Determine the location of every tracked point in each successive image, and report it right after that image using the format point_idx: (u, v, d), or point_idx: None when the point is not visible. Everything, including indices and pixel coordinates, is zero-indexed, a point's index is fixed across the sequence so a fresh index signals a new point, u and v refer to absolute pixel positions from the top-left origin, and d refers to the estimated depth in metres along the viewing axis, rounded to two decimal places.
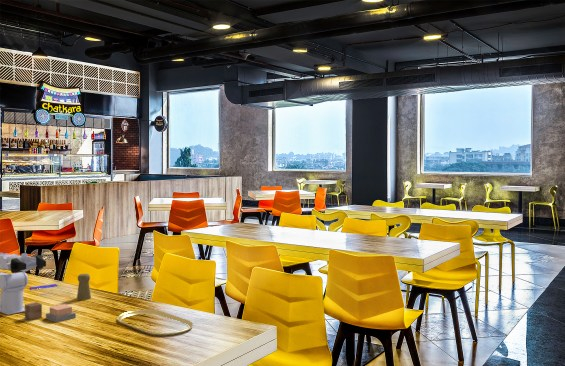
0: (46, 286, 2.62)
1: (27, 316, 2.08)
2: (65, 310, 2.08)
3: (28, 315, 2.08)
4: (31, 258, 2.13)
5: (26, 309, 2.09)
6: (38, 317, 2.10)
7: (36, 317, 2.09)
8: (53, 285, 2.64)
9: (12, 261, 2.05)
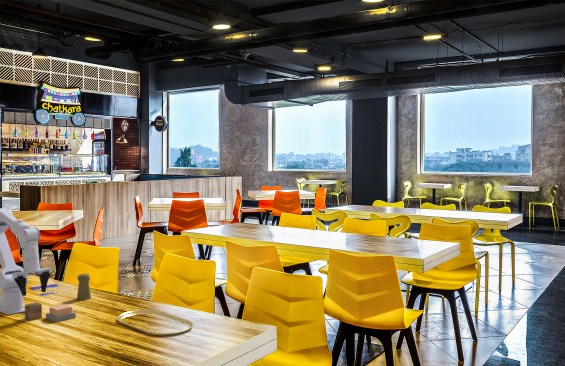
0: None
1: (27, 316, 2.08)
2: (65, 310, 2.08)
3: (28, 315, 2.08)
4: (40, 271, 2.10)
5: (26, 309, 2.09)
6: (38, 317, 2.10)
7: (36, 317, 2.09)
8: (53, 285, 2.64)
9: (19, 280, 2.04)
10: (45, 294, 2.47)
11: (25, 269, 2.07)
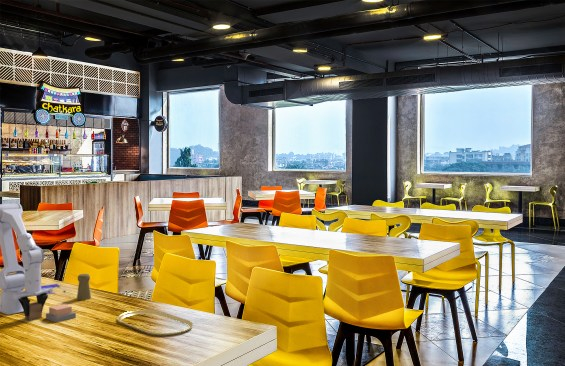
0: (47, 286, 2.62)
1: (27, 316, 2.08)
2: (64, 310, 2.08)
3: None
4: None
5: None
6: (38, 317, 2.09)
7: (36, 317, 2.09)
8: (54, 285, 2.64)
9: (23, 302, 2.05)
10: None
11: (26, 290, 2.07)
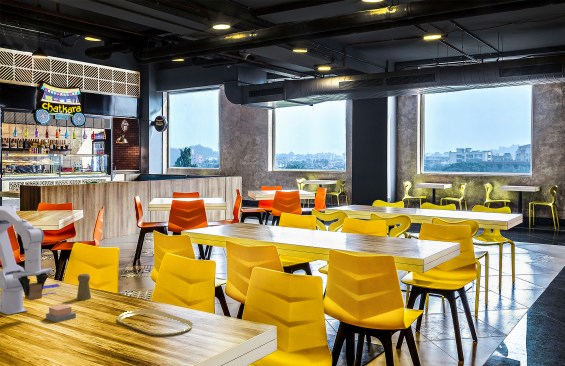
0: (48, 286, 2.62)
1: (28, 296, 2.08)
2: (64, 310, 2.08)
3: None
4: None
5: None
6: (38, 297, 2.09)
7: (36, 297, 2.08)
8: (55, 285, 2.64)
9: (23, 281, 2.05)
10: (46, 294, 2.47)
11: (26, 270, 2.07)
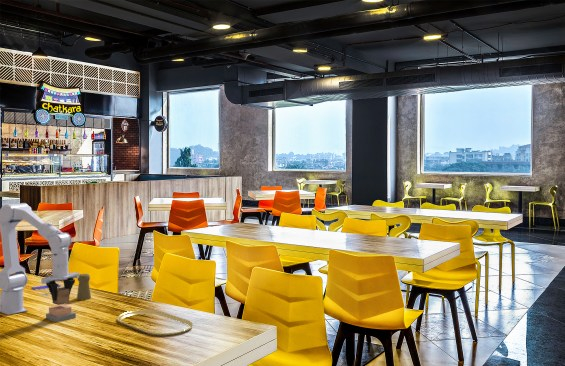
0: None
1: None
2: (64, 310, 2.08)
3: (56, 300, 2.08)
4: None
5: None
6: (66, 302, 2.09)
7: (64, 302, 2.09)
8: None
9: (51, 286, 2.05)
10: None
11: (54, 275, 2.07)
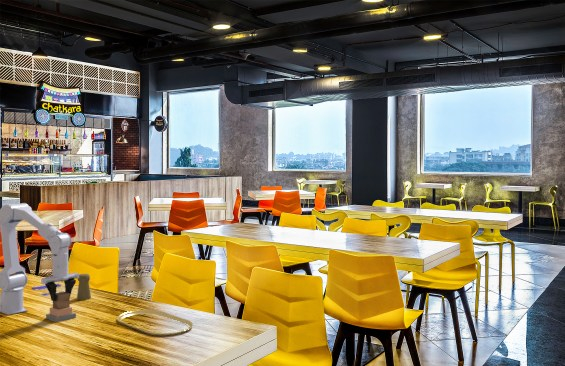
0: None
1: (56, 305, 2.08)
2: (65, 311, 2.08)
3: (56, 304, 2.08)
4: None
5: None
6: (66, 306, 2.10)
7: (64, 306, 2.09)
8: None
9: (50, 286, 2.05)
10: (47, 294, 2.47)
11: (54, 275, 2.07)
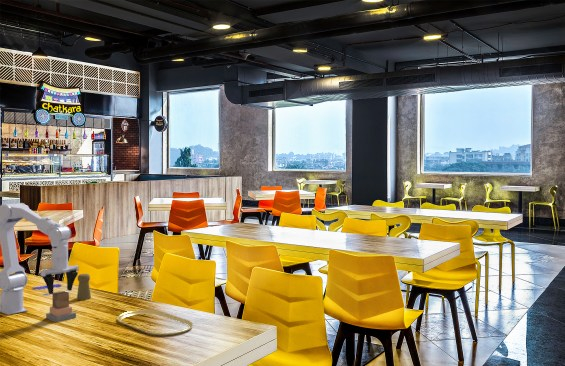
0: None
1: (55, 304, 2.08)
2: (65, 310, 2.08)
3: (55, 303, 2.08)
4: None
5: (54, 297, 2.09)
6: (65, 306, 2.10)
7: (63, 306, 2.09)
8: (56, 285, 2.64)
9: (48, 279, 2.04)
10: (47, 294, 2.47)
11: (54, 267, 2.07)
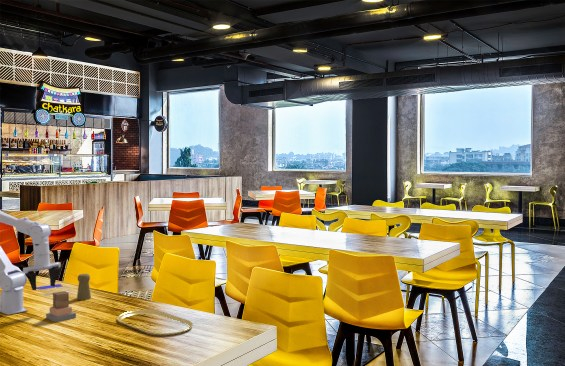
0: (50, 286, 2.62)
1: (55, 304, 2.09)
2: (65, 310, 2.08)
3: (55, 304, 2.08)
4: None
5: (54, 297, 2.10)
6: (65, 306, 2.09)
7: (63, 306, 2.09)
8: (57, 285, 2.64)
9: (30, 275, 2.10)
10: (49, 294, 2.47)
11: (36, 264, 2.13)
